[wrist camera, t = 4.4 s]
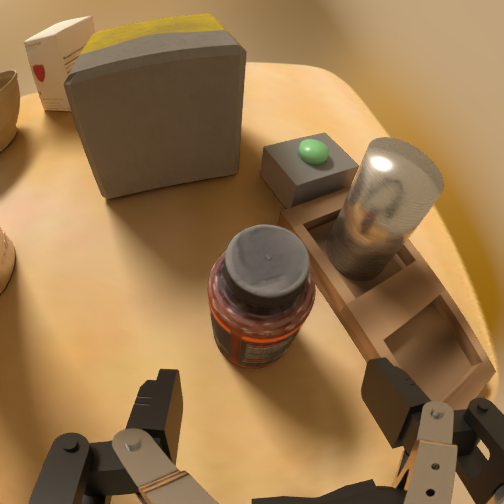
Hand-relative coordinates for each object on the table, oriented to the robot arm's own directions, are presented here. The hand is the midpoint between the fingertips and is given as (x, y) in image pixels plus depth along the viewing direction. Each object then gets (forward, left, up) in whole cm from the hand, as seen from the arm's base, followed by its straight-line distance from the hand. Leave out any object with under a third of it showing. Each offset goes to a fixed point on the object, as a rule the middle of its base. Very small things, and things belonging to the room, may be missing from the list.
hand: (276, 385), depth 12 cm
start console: (+15, +17, -10) cm, 25 cm away
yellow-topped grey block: (+4, +34, -11) cm, 36 cm away
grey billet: (+14, +7, -10) cm, 19 cm away
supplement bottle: (+2, +5, -11) cm, 12 cm away
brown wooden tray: (+14, +1, -10) cm, 18 cm away
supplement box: (-8, +54, -11) cm, 56 cm away
